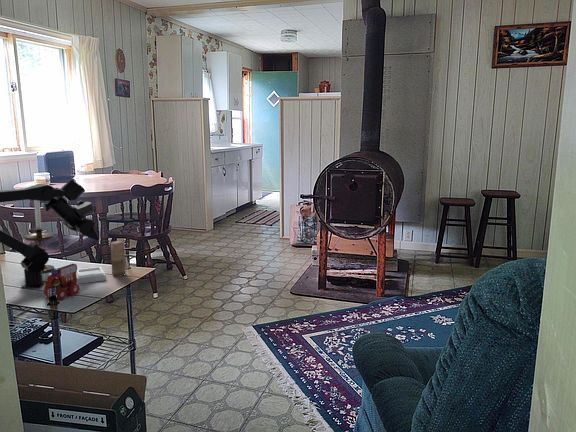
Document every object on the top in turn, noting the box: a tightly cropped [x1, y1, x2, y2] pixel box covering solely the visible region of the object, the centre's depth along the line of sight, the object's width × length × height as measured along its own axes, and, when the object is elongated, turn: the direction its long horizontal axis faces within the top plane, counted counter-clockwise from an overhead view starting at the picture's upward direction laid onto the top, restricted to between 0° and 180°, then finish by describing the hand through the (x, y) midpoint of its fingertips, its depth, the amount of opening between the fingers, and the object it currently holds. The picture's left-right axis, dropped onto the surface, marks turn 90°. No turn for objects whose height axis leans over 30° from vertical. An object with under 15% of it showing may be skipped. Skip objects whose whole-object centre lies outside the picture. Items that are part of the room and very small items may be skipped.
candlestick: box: [23, 200, 56, 274], centre depth 185 cm, size 11×11×35 cm
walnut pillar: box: [110, 240, 127, 277], centre depth 184 cm, size 5×5×13 cm
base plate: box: [76, 266, 107, 285], centre depth 180 cm, size 10×10×3 cm
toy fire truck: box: [43, 263, 81, 301], centre depth 160 cm, size 7×12×10 cm, turn 153°
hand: (93, 237), depth 183 cm, fingers open, 9 cm apart
